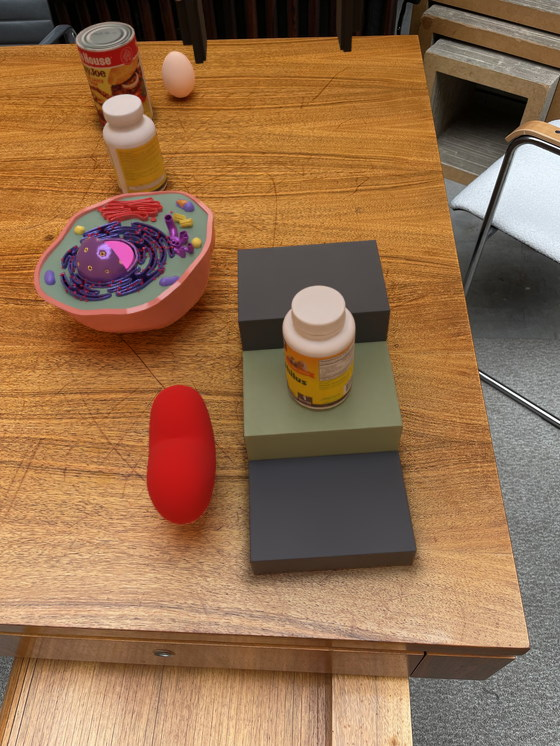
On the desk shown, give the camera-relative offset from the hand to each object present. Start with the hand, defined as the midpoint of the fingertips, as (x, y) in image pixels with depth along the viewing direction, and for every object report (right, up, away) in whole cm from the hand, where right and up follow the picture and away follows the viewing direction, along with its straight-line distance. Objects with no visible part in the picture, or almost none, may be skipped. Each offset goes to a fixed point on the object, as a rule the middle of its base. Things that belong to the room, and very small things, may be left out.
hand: (272, 48), depth 43 cm
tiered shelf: (+4, -27, +17) cm, 32 cm away
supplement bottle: (+4, -23, +12) cm, 26 cm away
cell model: (-15, -14, +29) cm, 35 cm away
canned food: (-22, +16, +52) cm, 59 cm away
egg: (-14, +20, +55) cm, 60 cm away
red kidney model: (-7, -32, +14) cm, 36 cm away
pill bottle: (-17, +3, +42) cm, 45 cm away
